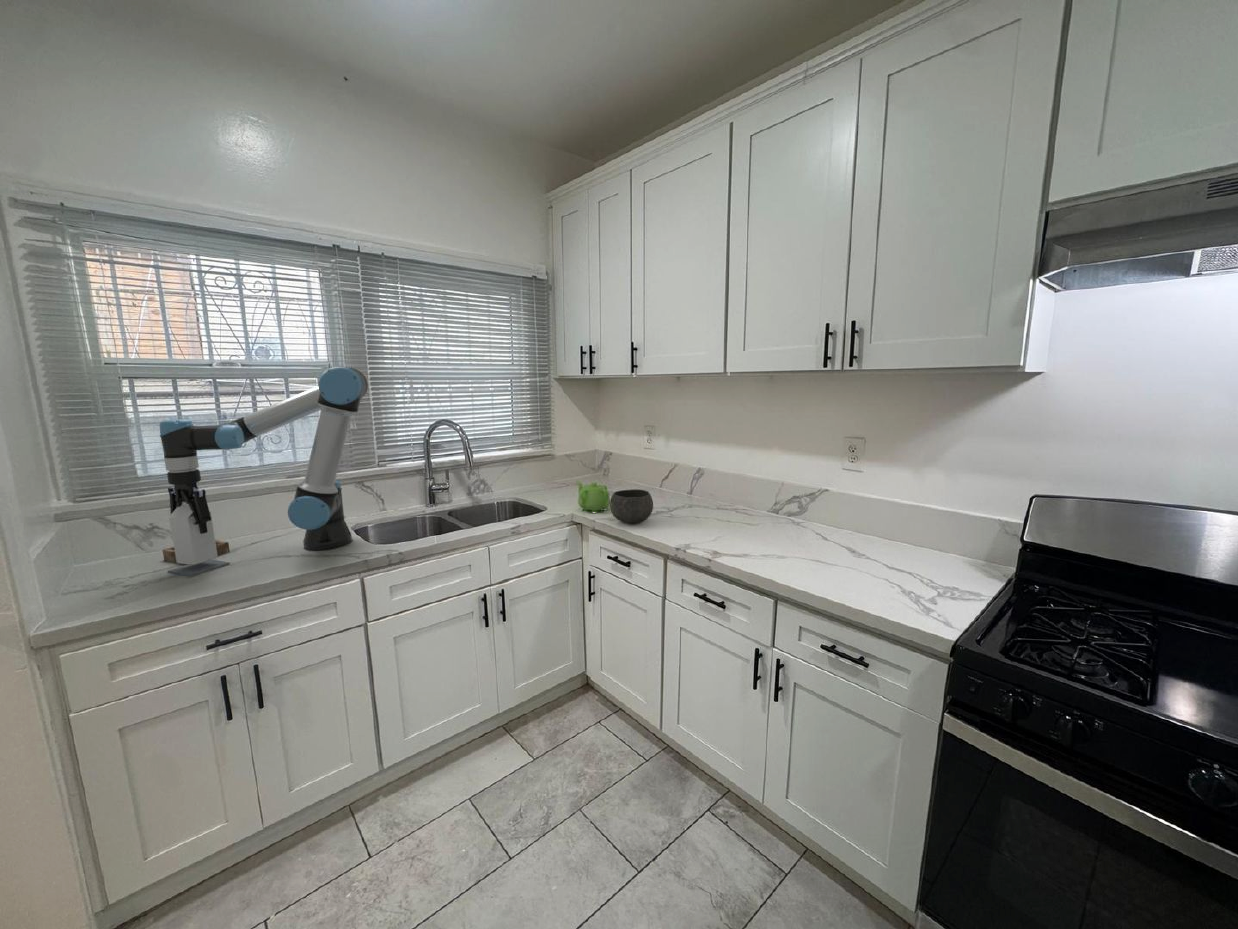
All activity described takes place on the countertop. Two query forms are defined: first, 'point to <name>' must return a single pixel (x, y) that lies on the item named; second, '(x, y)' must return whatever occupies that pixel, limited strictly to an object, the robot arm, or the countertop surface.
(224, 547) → the ring frame
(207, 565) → the slate mat
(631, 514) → the bowl
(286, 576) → the countertop surface
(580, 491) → the teapot
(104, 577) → the countertop surface
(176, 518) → the milk carton
